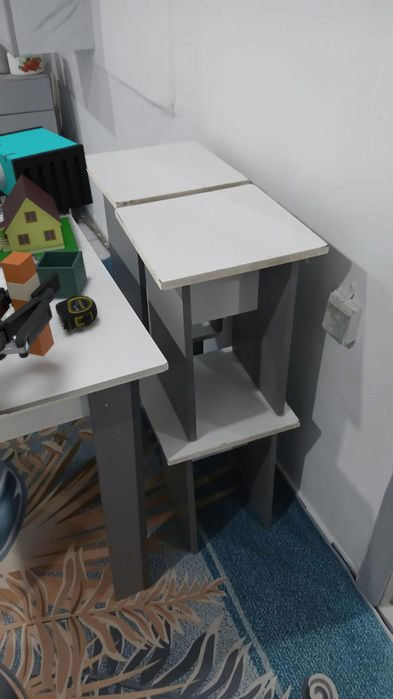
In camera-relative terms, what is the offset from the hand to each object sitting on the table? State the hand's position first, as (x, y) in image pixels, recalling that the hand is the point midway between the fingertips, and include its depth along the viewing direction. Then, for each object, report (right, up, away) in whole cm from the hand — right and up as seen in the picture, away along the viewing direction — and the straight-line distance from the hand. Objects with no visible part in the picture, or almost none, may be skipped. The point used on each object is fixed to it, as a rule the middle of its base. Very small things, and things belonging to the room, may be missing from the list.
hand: (45, 278), depth 83 cm
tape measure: (+2, -6, +14) cm, 15 cm away
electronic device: (-21, +27, +58) cm, 67 cm away
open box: (-3, +1, +24) cm, 24 cm away
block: (-1, -11, +2) cm, 11 cm away
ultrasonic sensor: (-14, +6, +32) cm, 35 cm away
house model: (-14, +14, +41) cm, 46 cm away
